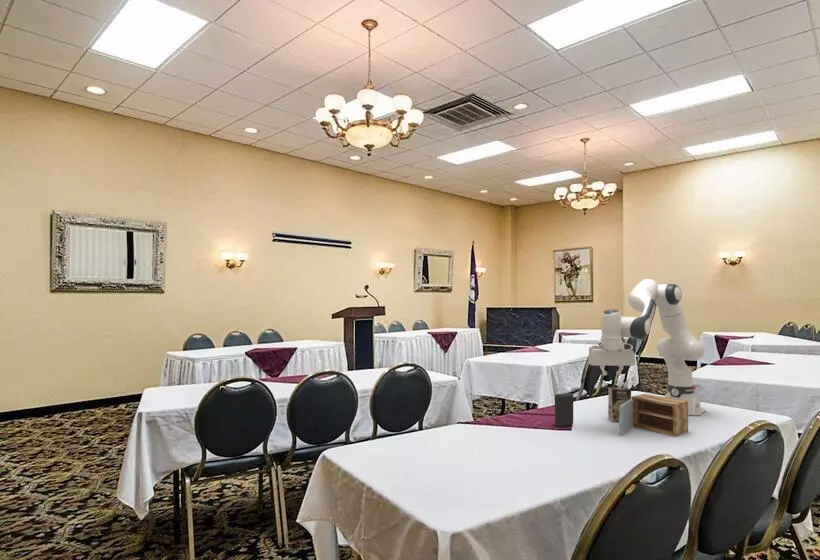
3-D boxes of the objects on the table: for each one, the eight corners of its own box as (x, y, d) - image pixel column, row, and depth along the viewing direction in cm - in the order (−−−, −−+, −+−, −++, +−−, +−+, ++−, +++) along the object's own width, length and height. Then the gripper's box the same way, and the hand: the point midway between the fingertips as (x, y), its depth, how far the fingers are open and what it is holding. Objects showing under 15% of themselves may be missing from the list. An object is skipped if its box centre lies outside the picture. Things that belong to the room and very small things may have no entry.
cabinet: (645, 422, 238) (644, 393, 238) (688, 432, 222) (687, 401, 222) (631, 426, 231) (631, 396, 231) (675, 436, 215) (674, 404, 215)
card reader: (567, 423, 237) (567, 392, 237) (574, 425, 233) (574, 393, 234) (554, 425, 232) (553, 393, 233) (560, 427, 229) (560, 395, 229)
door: (633, 425, 230) (633, 399, 230) (622, 434, 215) (622, 406, 216) (631, 424, 231) (630, 398, 231) (619, 433, 216) (619, 406, 216)
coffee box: (612, 422, 238) (611, 389, 239) (608, 419, 245) (607, 386, 245) (631, 423, 237) (631, 389, 238) (627, 419, 244) (626, 387, 244)
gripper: (591, 345, 222) (591, 376, 222) (636, 345, 222) (636, 376, 222) (586, 344, 228) (586, 374, 228) (630, 344, 228) (630, 374, 228)
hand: (611, 375), depth 225 cm, fingers open, 5 cm apart
